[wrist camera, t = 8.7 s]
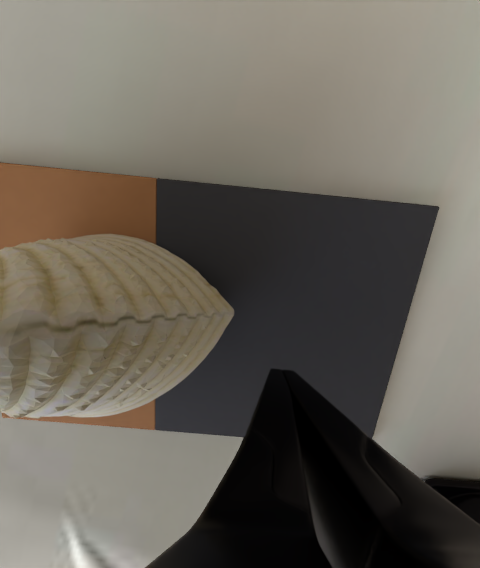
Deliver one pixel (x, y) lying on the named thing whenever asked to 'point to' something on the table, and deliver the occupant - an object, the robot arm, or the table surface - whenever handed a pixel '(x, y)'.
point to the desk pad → (249, 283)
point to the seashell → (100, 325)
